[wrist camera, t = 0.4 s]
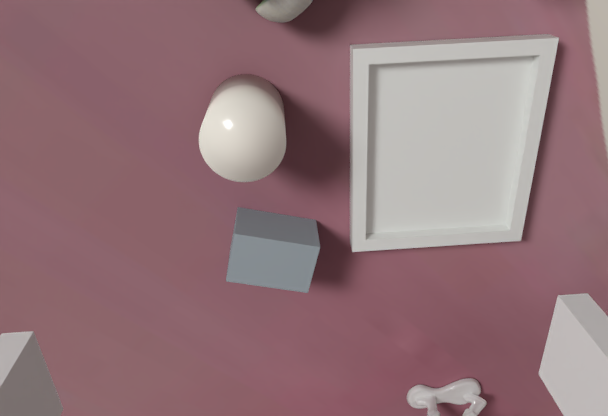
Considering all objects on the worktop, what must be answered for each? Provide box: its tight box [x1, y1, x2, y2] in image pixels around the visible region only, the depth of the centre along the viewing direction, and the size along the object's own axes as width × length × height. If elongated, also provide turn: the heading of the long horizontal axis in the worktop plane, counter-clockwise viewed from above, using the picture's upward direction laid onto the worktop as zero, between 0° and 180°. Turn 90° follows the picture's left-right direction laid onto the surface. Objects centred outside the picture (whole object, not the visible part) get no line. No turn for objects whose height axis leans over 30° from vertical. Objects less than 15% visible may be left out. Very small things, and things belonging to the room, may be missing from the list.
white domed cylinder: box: [199, 74, 286, 182], centre depth 32 cm, size 5×5×6 cm
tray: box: [350, 34, 559, 252], centre depth 36 cm, size 15×13×1 cm
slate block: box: [226, 207, 320, 293], centre depth 38 cm, size 4×6×4 cm, turn 78°
